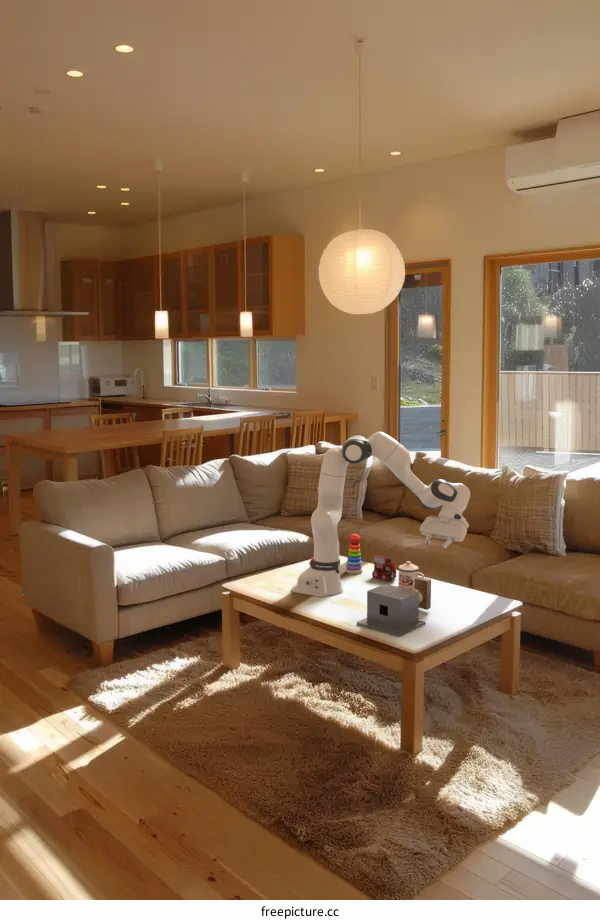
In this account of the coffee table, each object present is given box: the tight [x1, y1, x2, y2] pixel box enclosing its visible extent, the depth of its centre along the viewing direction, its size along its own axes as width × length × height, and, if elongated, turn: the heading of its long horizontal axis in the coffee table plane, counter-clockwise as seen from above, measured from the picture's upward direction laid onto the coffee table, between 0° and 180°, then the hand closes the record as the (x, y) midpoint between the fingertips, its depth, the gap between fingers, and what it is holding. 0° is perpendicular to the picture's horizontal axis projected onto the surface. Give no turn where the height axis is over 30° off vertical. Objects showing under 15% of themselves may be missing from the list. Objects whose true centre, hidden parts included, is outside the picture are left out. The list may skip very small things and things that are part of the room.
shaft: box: [411, 576, 432, 611], centre depth 325 cm, size 21×6×12 cm, turn 137°
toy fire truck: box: [371, 554, 397, 582], centre depth 375 cm, size 7×12×10 cm, turn 45°
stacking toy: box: [345, 533, 363, 575], centre depth 385 cm, size 8×8×19 cm
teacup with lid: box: [397, 560, 425, 590], centre depth 363 cm, size 12×9×12 cm
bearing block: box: [356, 583, 427, 638], centre depth 316 cm, size 18×20×13 cm
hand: (435, 545), depth 335 cm, fingers open, 7 cm apart
